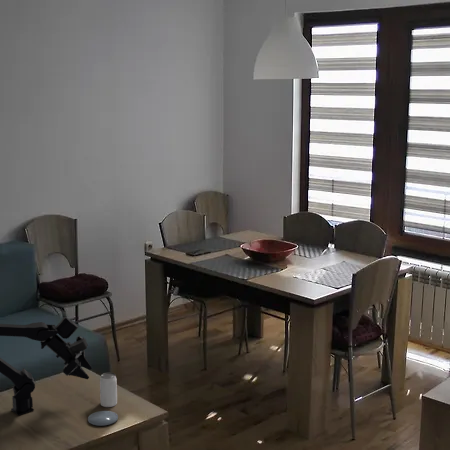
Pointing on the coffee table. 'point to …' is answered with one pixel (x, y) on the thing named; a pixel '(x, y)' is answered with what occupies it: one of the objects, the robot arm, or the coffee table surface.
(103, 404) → the can
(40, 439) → the coffee table surface
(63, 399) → the coffee table surface
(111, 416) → the dish
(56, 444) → the coffee table surface
